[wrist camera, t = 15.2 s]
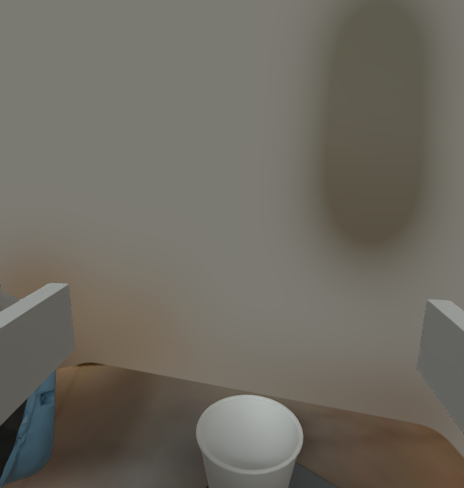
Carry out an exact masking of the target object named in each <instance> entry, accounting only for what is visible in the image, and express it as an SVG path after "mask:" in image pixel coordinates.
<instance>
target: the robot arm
mask: <svg viewBox="0 0 464 488" xmlns="http://www.w3.org/2000/svg"><path fill="white" fill-rule="evenodd" d="M72 322H73V321H72V311H71V300H70V290H69V284H60V283H49V284H47V285H45V286H44V287H42V288H40V289H39V290H37V291H35V292H34V293H32V294H30V295H28V296H27V297H25V298H23V299H22V300H19V299H18V298H16V297H14V296H12V295H10V294H7V293H4V292H2V291H1V286H0V488H1V487H2V486H3V485H5V484H8V483H11V482H14V481H17V480H19V479H22V478H25V477H28V476H31V475H33V474H35V473H37V472H38V471H39V470H41V469H42V468H43V467H44V466H45V465H46V463H47V462H48V460H49V458H50V456H51V453H52V448H53V438H54V418H55V381H56V369H57V367H58V366H59V365H60V364H61V363H62V362H63V361H64V360H65V359H66V358H67V357H68V356H69V355H70V354H71V353H72V352H73V351H74V350H75V343H74V333H73V323H72ZM417 370H418V372H419V373H420V374H421V376H422V377H423V379H424V380H425V381H426V383H427V384H428V385H429V387H430V388H431V390H432V391H433V392H434V394H435V395H436V396H437V398H438V399H439V400H440V402H441V403H442V405H443V406H444V407H445V409H446V410H447V411H448V413H449V414H450V416H451V417H452V418H453V420H454V421H455V422H456V424H457V425H458V426H459V428H460V429H461V431H462V432H463V433H464V311H463V310H462V309H460V308H459V307H457V306H456V305H455V304H454V303H452V302H451V301H450V300H428V299H427V303H426V311H425V316H424V323H423V330H422V336H421V343H420V350H419V357H418V363H417Z"/></svg>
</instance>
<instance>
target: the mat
mask: <svg viewBox="0 0 464 488" xmlns="http://www.w3.org/2000/svg"><path fill="white" fill-rule="evenodd" d="M206 488H209V487H208V486H207V487H206ZM288 488H337V487H336V486H334V485H332V484H331V483H329V482H327V481H326V480H324V479H323V478H321V477H319V476H318V475H316V474H314V473H313V472H311V471H309V470H308V469H306V468H304V467H303V466H301V465H299V464H298V463H296V462H295V465H294V469H293V472H292V476H291V479H290V483H289V486H288Z"/></svg>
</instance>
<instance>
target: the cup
mask: <svg viewBox="0 0 464 488" xmlns="http://www.w3.org/2000/svg"><path fill="white" fill-rule="evenodd" d="M196 439H197V442H198V445H199V448H200V449H201V452H202V457H203V462H204V467H205V471H206V476H207V481H208V487H209V488H288V486H289V483H290V479H291V476H292V472H293V469H294V465H295V461H296V458H297V455H298V454H299V453H300V450H301V448H302V445H303V431H302V427H301V425H300V423H299V420H298V419H297V418H296V416H295V415H294V414H293V413H292V412H291V411H290V410H289V409H288V408H287V407H285V406H284V405H282V404H281V403H279V402H277V401H274V400H272V399H269V398H266V397H262V396H257V395H235V396H231V397H227V398H224V399H221V400H219V401H217V402H215V403H214V404H212V405H211V406H209V407H208V408H207V409H206V410H205V411H204V412H203V414H202V415H201V416H200V418H199V420H198V423H197V427H196Z"/></svg>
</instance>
